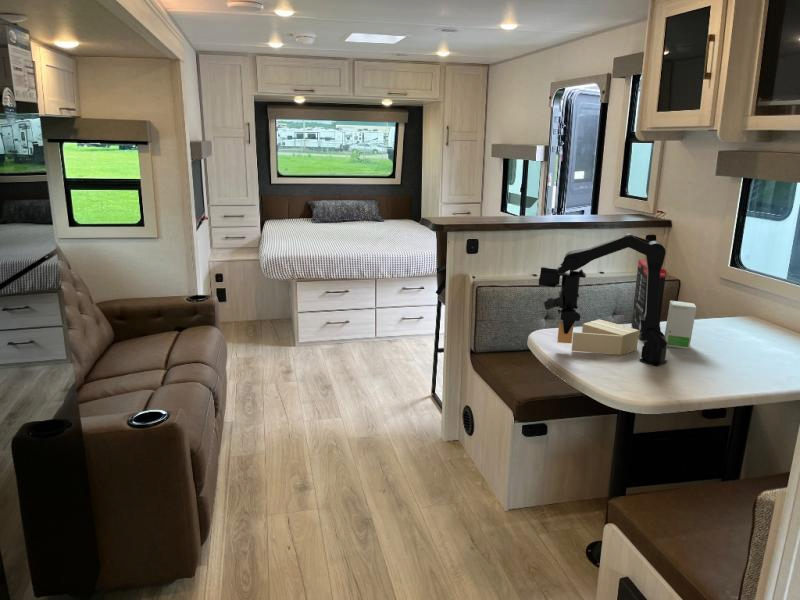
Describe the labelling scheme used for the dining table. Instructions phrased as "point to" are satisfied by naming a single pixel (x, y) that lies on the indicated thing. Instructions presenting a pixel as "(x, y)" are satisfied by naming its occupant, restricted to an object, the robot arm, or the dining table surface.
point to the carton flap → (590, 341)
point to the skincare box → (680, 324)
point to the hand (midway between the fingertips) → (565, 332)
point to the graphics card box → (641, 294)
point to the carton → (614, 333)
